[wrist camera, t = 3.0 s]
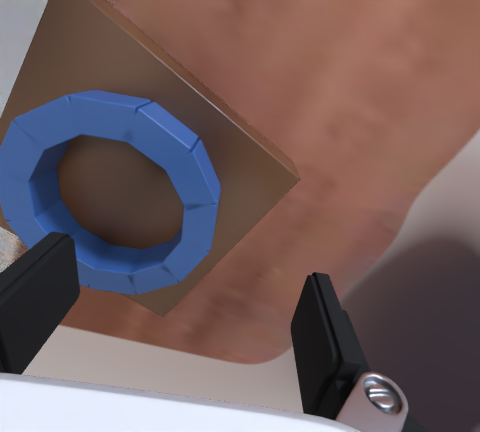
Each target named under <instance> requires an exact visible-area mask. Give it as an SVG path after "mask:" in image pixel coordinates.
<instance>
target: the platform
mask: <svg viewBox="0 0 480 432" xmlns="http://www.w3.org/2000/svg"><path fill="white" fill-rule="evenodd" d="M90 90H92V91H94V90H100V91H105V92H111V93H117V94H122V95H128V96H133V97H139V98H145V99H150V100H151V103H152V102H156V103H157V104H159V105H160V106H161V107H162V108H164V109H165V110H166V111H167V112H169V113H170V114H171V115H172V116H174V117H175V118H176V119H177V120H179V121H180V122H181V123H182V124H184V125H185V126H186V127H187V128H189V129H190V130H191V131H192V132H194V133H195V134H196V135H197V136H198V139H197V140H201V141H202V143H203V145H204V148H205V150H206V152H207V154H208V157H209V159H210V161H211V164H212V166H213V168H214V171H215V173H216V175H217V178H218V180H219V182H220V187H221V191H220V198H219V205H218V211H217V218H216V225H215V231H214V236H213V241H212V246H211V250H210V251H209V253H208V254H207V255H206V256H205V257H204V259H203V260H202V261H201V262H200V263H199V264H198V265H197V266H196V267H195V268H194V269H193V270H192V271H191V272H190V273H189V274H188V275H187V276H186V277H185V279H184V280H183V281H179V283H178V284H174V285H171V286H167V287H164V288H160V289H157V290H153V291H150V292H146V293H143V294H137V293H136V295H132V294H125V293H121V294H123V295H125V296H126V297H128V298H130V299H132V300H134V301H135V302H137V303H139V304H141V305H143V306H144V307H146V308H148V309H150V310H152V311H153V312H155V313H157V314H159V315H161V316H162V317H164V316H165V315H166V314H167V313H168V312H169V311H170V310H171V309H172V308H173V307H174V306H175V305H176V304H177V303H178V302H179V301H180V300H181V299H182V298H183V297H184V296H185V295H186V294H187V293H188V292H189V291H190V290H191V289H192V288H193V287H194V286H195V285H196V284H197V283H198V282H199V281H200V280H201V279H202V278H203V277H204V276H205V275H206V274H207V273H208V272H209V271H210V270H211V269H212V268H213V267H214V266H215V265H216V264H217V263H218V262H219V261H220V260H221V259H222V258H223V257H224V256H225V255H226V254H227V253H228V252H229V251H230V250H231V249H232V248H233V247H234V246H235V245H236V244H237V243H238V242H239V241H240V240H241V239H242V238H243V237H244V236H245V235H246V234H247V233H248V232H249V231H250V230H251V229H252V228H253V227H254V226H255V225H256V224H257V222H258V221H259V220H260V219H261V218H262V217H263V216H264V215H265V214H266V213H267V212H268V211H269V210H270V209H271V208H272V207H273V206H274V205H275V204H276V203H277V202H278V201H279V200H280V199H281V198H282V197H283V196H284V195H285V194H286V193H287V192H288V191H289V190H290V189H291V188H292V187H293V186H294V185H295V184H296V183H297V182H298V181H299V180H300V177H299V175H298V173H297V170H296V168H295V166H294V164H293V162H292V161H291V160H290V159H289V158H288V157H286V156H285V155H284V154H283V153H282V152H281V151H279V150H278V149H277V148H276V147H275V146H274V145H273V144H271V143H270V142H269V141H268V140H267V139H266V138H264V137H263V136H262V135H261V134H260V133H259V132H258V131H256V130H255V129H254V128H253V127H252V126H251V125H249V124H248V123H247V122H246V121H245V120H244V119H242V118H241V117H240V116H239V115H238V114H237V113H236V112H234V111H233V110H232V109H231V108H230V107H229V106H227V105H226V104H225V103H224V102H223V101H222V100H221V99H219V98H218V97H217V96H216V95H215V94H214V93H212V92H211V91H210V90H209V89H208V88H207V87H205V86H204V85H203V84H202V83H201V82H200V81H199V80H197V79H196V78H195V77H194V76H193V75H192V74H190V73H189V72H188V71H187V70H186V69H185V68H184V67H182V66H181V65H180V64H179V63H178V62H177V61H175V60H174V59H173V58H172V57H171V56H170V55H168V54H167V53H166V52H165V51H164V50H163V49H162V48H160V47H159V46H158V45H157V44H156V43H155V42H153V41H152V40H151V39H150V38H149V37H148V36H147V35H145V34H144V33H143V32H142V31H141V30H140V29H138V28H137V27H136V26H135V25H134V24H133V23H132V22H130V21H129V20H128V19H127V18H126V17H125V16H123V15H122V14H121V13H120V12H119V11H118V10H116V9H115V8H114V7H113V6H112V5H111V4H110V3H108V2H107V1H106V0H48V3H47V5H46V8H45V10H44V13H43V15H42V18H41V20H40V22H39V25H38V27H37V30H36V32H35V35H34V37H33V40H32V42H31V44H30V47H29V49H28V52H27V54H26V57H25V59H24V62H23V64H22V67H21V69H20V71H19V74H18V76H17V79H16V81H15V84H14V86H13V89H12V91H11V93H10V96H9V98H8V101H7V103H6V106H5V108H4V111H3V113H2V116H1V118H0V147H1V145H2V142H3V140H4V138H5V135H6V133H7V131H8V128H9V126H10V124H11V121H14V120H15V118H16V117H18V116H20V115H22V114H25V113H27V112H29V111H31V110H34V109H36V108H38V107H40V106H42V105H45V104H47V103H49V102H51V101H53V100H56V99H58V98H60V97H62V96H64V95H69V94H74V93H80V92H85V91H90ZM57 174H58V181H59V189H60V196H61V200H62V201H63V203H64V204H65V205H66V207H67V208H68V209H69V211H70V212H71V214H72V215H73V216H74V218H75V219H76V221H77V222H78V223H79V225H80V226H81V227H82V228H84V229H86V230H87V231H89V232H91V233H92V234H94V235H96V236H97V237H99V238H101V239H102V240H104V241H106V242H107V243H109V244H111V245H116V246H122V247H129V248H136V249H146V248H149V247H153V246H156V245H159V244H162V243H165V242H168V241H171V240H172V238H173V237H174V236H175V235H176V234H177V233H178V231H179V230H180V229H181V228H182V225H183V213H184V205H183V203H182V201H181V199H180V197H179V195H178V193H177V192H176V190H175V188H174V186H173V184H172V182H171V180H170V178H169V176H168V174H167V172H166V170H165V169H163V168H162V167H161V166H159V165H158V164H156V163H155V162H154V161H152V160H151V159H150V158H148V157H147V156H145V155H144V154H143V153H141V152H140V151H139V150H137V149H136V148H135V147H133V146H132V145H130V144H129V143H128V142H123V141H117V140H111V139H105V138H99V137H93V136H87V135H80V136H78V137H75V138H73V139H71V141H70V143H69V144H68V146H67V148H66V150H65V152H64V154H63V156H62V157H61V159H60V161H59V163H58V165H57ZM7 221H8V220H7V219H4V215H3V211H2V207H1V203H0V226H1V227H2V228H4V229H6V230H8V231H9V232H11V233H13V234H15V235H17V234H16V233H15V232H14V231H13V230H12V228H11V227H10V226H9V225H8V224H7Z"/></svg>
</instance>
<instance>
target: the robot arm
mask: <svg viewBox="0 0 480 432" xmlns="http://www.w3.org/2000/svg"><path fill="white" fill-rule="evenodd" d="M79 294H80V287H79V277H78V268H77V259H76V250H75V241H74V239H73V238H71V237H70V235H69V234H67V233H61V232H54V231H53V232H50V233H49V234H48V235H46V236H45V237H44V238H43V239H41V240H40V241H39V242H38V243H37V244H35V245H34V246H33V247H32V248H31V249H29V250H28V251H27V252H26V253H24V254H23V255H22V256H21V257H20V258H18V259H17V260H16V261H15V262H14V263H12V264H11V265H10V266H9V267H7V268H6V269H5V270H4V271H3V272H1V273H0V432H430V431H429V430H428V429H427V428H426V427H424V426H423V425H422V424H421V423H419V422H418V421H417V420H416V419H415V418H413V417H412V416H411V415H410V414H409V413H408V404H407V400H406V398H405V396H404V394H403V392H402V391H401V390H400V388H399V387H398V386H397V385H396V384H395V383H394V382H393V381H391V380H390V379H389V378H387V377H385V376H384V375H382V374H378V373H376V372H371V371H370V368H369V366H368V363H367V361H366V358H365V356H364V353H363V351H362V348H361V346H360V343H359V341H358V338H357V336H356V333H355V331H354V328H353V326H352V323H351V321H350V318H349V316H348V314H347V312H346V311H345V310H342V309H341V306H340V303H339V301H338V298H337V296H336V293H335V290H334V288H333V285H332V282H331V280H330V277H329V275H328V274H323V273H316V272H314V273H313V274H312V275H308V276H307V279H306V281H305V284H304V287H303V290H302V293H301V296H300V299H299V302H298V305H297V307H296V310H295V313H294V316H293V319H292V322H291V335H292V342H293V348H294V354H295V361H296V367H297V374H298V380H299V387H300V393H301V400H302V406H303V412H304V413H300V412H293V411H287V410H280V409H274V408H268V407H261V406H254V405H247V404H240V403H232V402H226V401H218V400H211V399H204V398H197V397H189V396H181V395H175V394H167V393H160V392H152V391H144V390H137V389H129V388H121V387H114V386H106V385H98V384H91V383H83V382H75V381H67V380H59V379H51V378H44V377H35V376H28V375H21V374H22V373H23V372H24V370H25V369H26V368H27V366H28V365H29V363H30V362H31V361H32V360H33V358H34V357H35V355H36V354H37V353H38V352H39V350H40V349H41V347H42V346H43V345H44V343H45V342H46V341H47V339H48V338H49V337H50V335H51V334H52V333H53V331H54V330H55V329H56V327H57V326H58V325H59V323H60V322H61V321H62V319H63V318H64V317H65V315H66V314H67V313H68V311H69V310H70V309H71V307H72V306H73V305H74V303H75V302H76V301H77V299H78V297H79Z"/></svg>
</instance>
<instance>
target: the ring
mask: <svg viewBox="0 0 480 432" xmlns="http://www.w3.org/2000/svg"><path fill="white" fill-rule="evenodd" d="M80 135H87V136H93V137H99V138H105V139H111V140H117V141H123V142H128V143H129V144H130V145H132V146H133V147H135V148H136V149H137V150H139V151H140V152H141V153H143V154H144V155H145V156H147V157H148V158H150V159H151V160H152V161H154V162H155V163H156V164H158V165H159V166H161V167H162V168H163V169H165V170H166V172H167V174H168V176H169V178H170V180H171V182H172V184H173V186H174V188H175V190H176V192H177V193H178V195H179V197H180V199H181V201H182V203H183V205H184V213H183V225H182V228H181V229H180V230H179V231H178V233H177V234H176V235H175V236H174V237H173V238H172V240H171V241H168V242H165V243H162V244H159V245H156V246H153V247H149V248H146V249H136V248H129V247H122V246H116V245H111V244H109V243H107V242H106V241H104V240H102V239H101V238H99V237H97V236H96V235H94V234H92V233H91V232H89V231H87V230H86V229H84V228H82V227H81V226H80V225H79V223H78V222H77V221H76V219H75V218H74V216H73V215H72V214H71V212H70V211H69V209H68V208H67V207H66V205H65V204H64V203H63V201H62V200H61V196H60V189H59V181H58V174H57V165H58V163H59V161H60V159H61V157H62V156H63V154H64V152H65V150H66V148H67V146H68V144H69V143H70V141H71V139H73V138H75V137H78V136H80ZM197 139H198V136H197V135H196V134H195V133H194V132H192V131H191V130H190V129H189V128H187V127H186V126H185V125H184V124H182V123H181V122H180V121H179V120H177V119H176V118H175V117H174V116H172V115H171V114H170V113H169V112H167V111H166V110H165V109H164V108H162V107H161V106H160V105H159V104H157V103H156V102H152V103H151V100H150V99H145V98H139V97H133V96H128V95H122V94H117V93H111V92H105V91H100V90H94V91H92V90H90V91H85V92H80V93H74V94H69V95H64V96H62V97H60V98H58V99H56V100H53V101H51V102H49V103H47V104H45V105H42V106H40V107H38V108H36V109H34V110H31V111H29V112H27V113H25V114H22V115H20V116H18V117H16V118H15V120H14V121H11V124H10V126H9V128H8V131H7V133H6V135H5V138H4V140H3V142H2V145H1V147H0V203H1V207H2V211H3V215H4V219H7V220H8V221H7V224H8V225H9V226H10V227H11V228H12V230H13V231H14V232H15V233H16V234H17V236H18V237H19V238H20V239H21V240H22V241H23V243H24V244H25V245H26V246H27V247H28V248H29V249H31V248H32V247H33V246H34V245H35V244H37V243H38V242H39V241H40V240H41V239H43V238H44V237H45V236H46V235H48V234H49V233H50V232H53V231H54V232H61V233H67V234H69V235H70V237H71V238H73V239H74V241H75V250H76V259H77V268H78V277H79V284H80V285H82V286H84V287H86V288H87V287H88V286H89V288H90V289H96V290H103V291H110V292H118V293H125V294H132V295H136V293H137V294H143V293H146V292H150V291H153V290H157V289H160V288H164V287H167V286H171V285H174V284H178V283H179V281H183V280H184V279H185V277H186V276H187V275H188V274H189V273H190V272H191V271H192V270H193V269H194V268H195V267H196V266H197V265H198V264H199V263H200V262H201V261H202V260H203V259H204V257H205V256H206V255H207V254H208V253H209V251H210V250H211V246H212V241H213V236H214V231H215V225H216V218H217V211H218V205H219V198H220V191H221V187H220V182H219V180H218V178H217V175H216V173H215V171H214V168H213V166H212V164H211V161H210V159H209V157H208V154H207V152H206V150H205V148H204V145H203V143H202V141H201V140H197Z"/></svg>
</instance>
